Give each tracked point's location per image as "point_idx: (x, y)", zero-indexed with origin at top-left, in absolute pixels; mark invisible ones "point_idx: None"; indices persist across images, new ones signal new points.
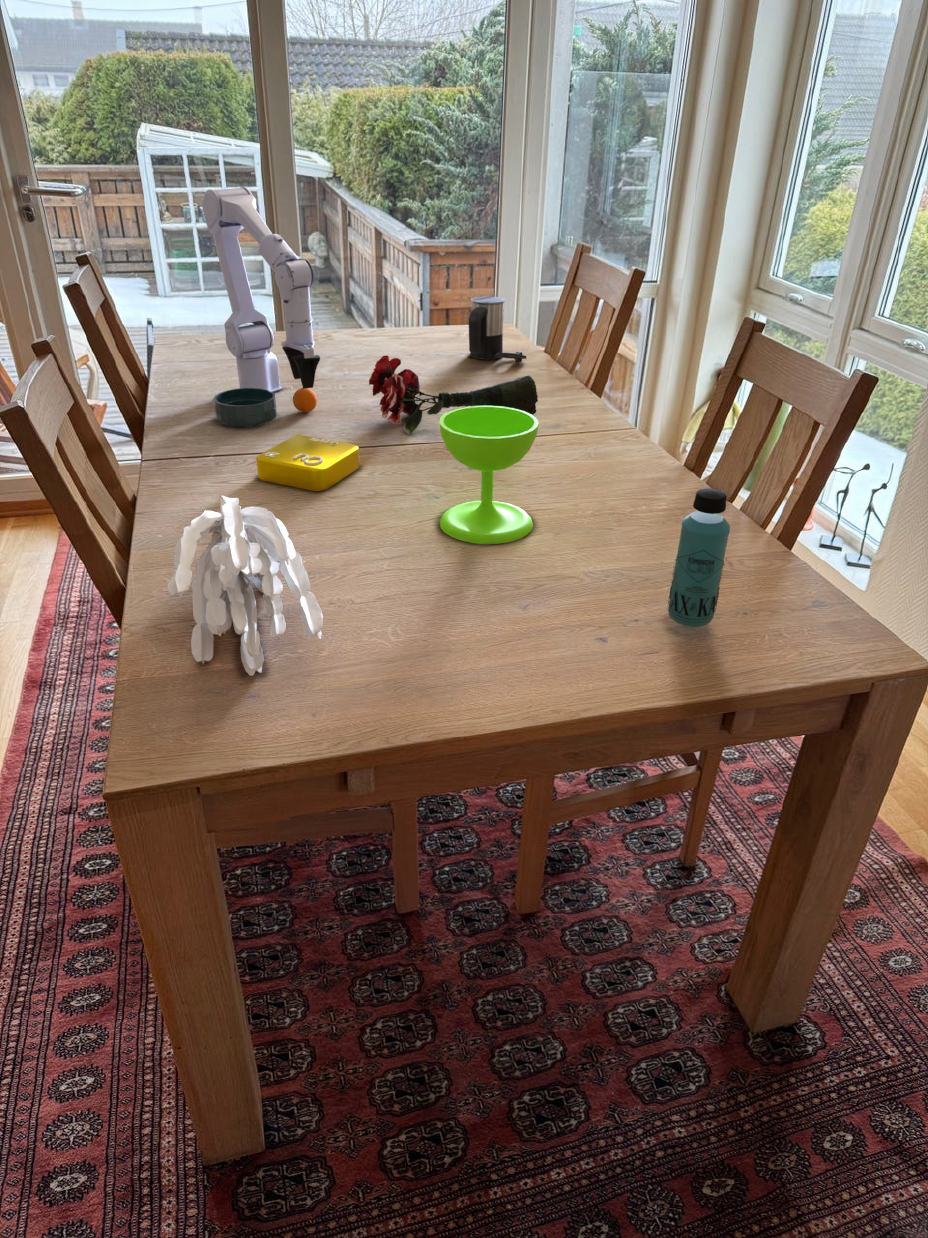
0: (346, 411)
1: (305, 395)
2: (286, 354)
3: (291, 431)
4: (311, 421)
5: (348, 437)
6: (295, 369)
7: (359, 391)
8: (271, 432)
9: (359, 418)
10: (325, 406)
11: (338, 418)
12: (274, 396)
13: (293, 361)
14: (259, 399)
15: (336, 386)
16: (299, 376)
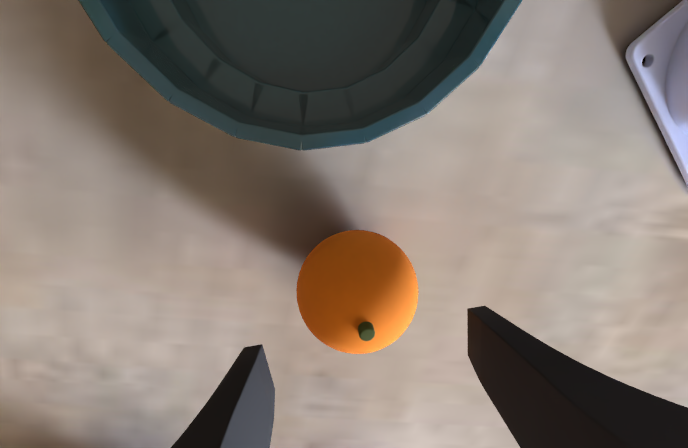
0: (318, 391)
1: (308, 314)
2: (643, 418)
3: (78, 179)
4: (217, 272)
5: (6, 380)
6: (502, 361)
7: None
8: (60, 77)
9: None
10: None
11: None
12: (266, 143)
13: (546, 406)
14: (434, 47)
15: None
16: (473, 343)
